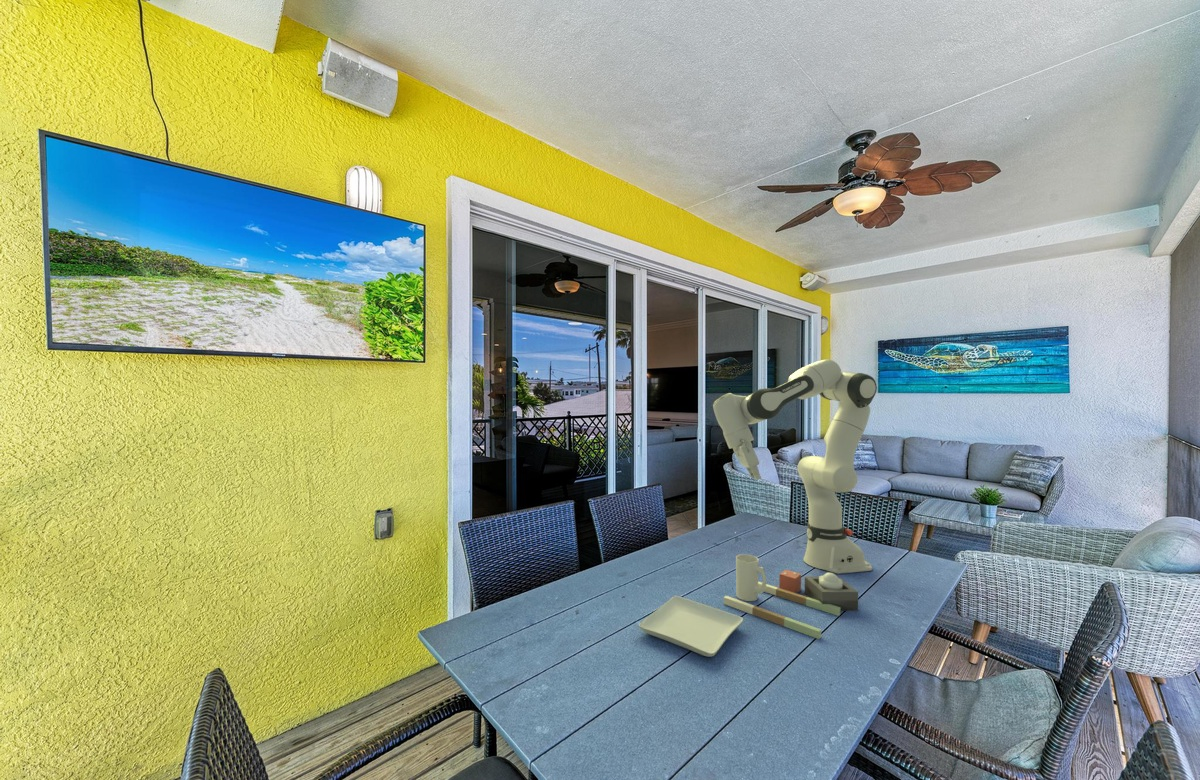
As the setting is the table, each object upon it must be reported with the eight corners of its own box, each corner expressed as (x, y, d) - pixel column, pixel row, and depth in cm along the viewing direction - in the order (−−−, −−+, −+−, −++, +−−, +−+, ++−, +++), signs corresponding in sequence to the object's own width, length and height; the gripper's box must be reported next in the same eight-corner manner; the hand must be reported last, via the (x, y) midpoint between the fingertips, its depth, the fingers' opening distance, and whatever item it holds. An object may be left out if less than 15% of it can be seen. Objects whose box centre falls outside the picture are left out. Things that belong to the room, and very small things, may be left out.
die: (779, 589, 145) (779, 572, 144) (785, 584, 148) (785, 568, 148) (795, 594, 141) (795, 577, 141) (801, 589, 145) (801, 572, 145)
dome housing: (837, 593, 142) (838, 576, 142) (857, 610, 131) (858, 591, 131) (804, 594, 141) (804, 576, 141) (822, 610, 131) (822, 591, 131)
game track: (723, 603, 135) (723, 597, 135) (750, 585, 148) (750, 579, 148) (819, 639, 116) (819, 631, 116) (840, 614, 129) (840, 607, 129)
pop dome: (835, 582, 140) (835, 568, 140) (846, 592, 133) (847, 577, 133) (814, 582, 139) (814, 568, 139) (825, 592, 133) (825, 577, 133)
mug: (730, 595, 140) (731, 557, 140) (744, 589, 144) (744, 552, 144) (758, 608, 132) (759, 567, 132) (772, 602, 136) (772, 562, 136)
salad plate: (713, 668, 104) (713, 653, 104) (636, 636, 117) (636, 623, 117) (745, 629, 121) (745, 616, 121) (674, 605, 134) (674, 594, 134)
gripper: (752, 435, 143) (771, 476, 140) (744, 437, 163) (760, 473, 160) (733, 442, 144) (751, 483, 141) (728, 443, 164) (743, 480, 161)
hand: (756, 478), depth 151 cm, fingers open, 8 cm apart
